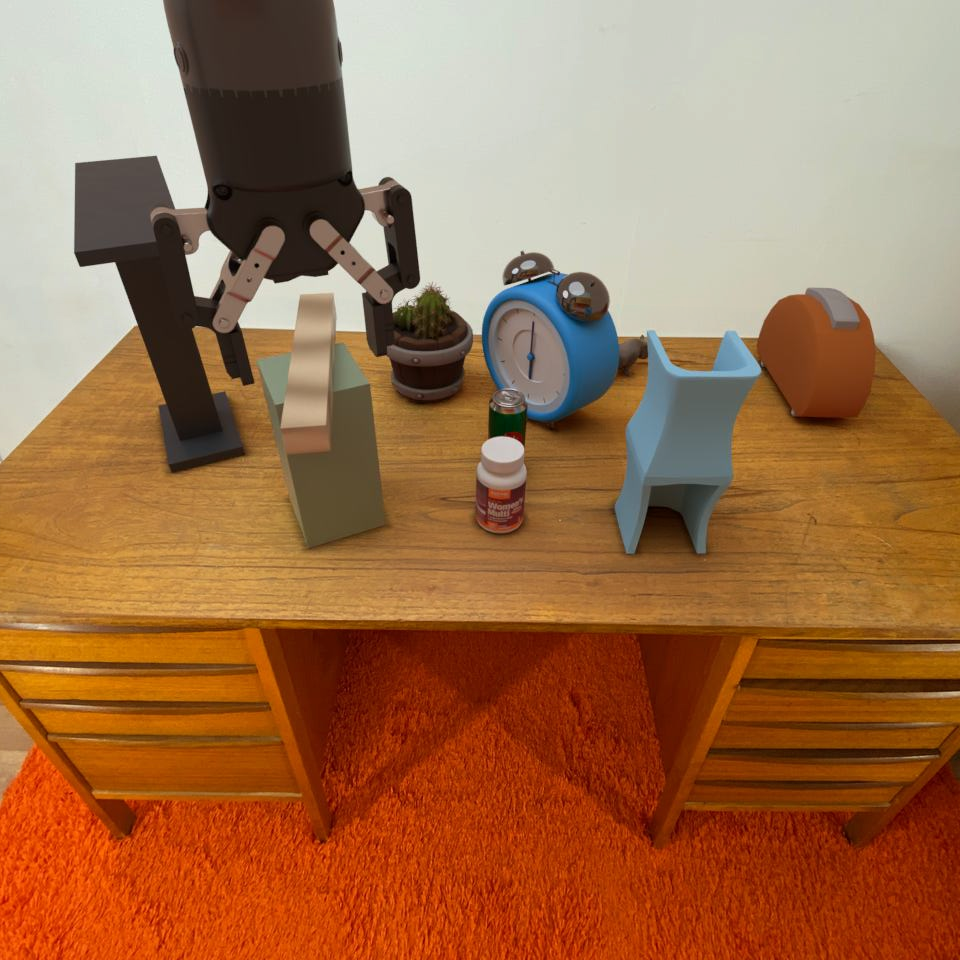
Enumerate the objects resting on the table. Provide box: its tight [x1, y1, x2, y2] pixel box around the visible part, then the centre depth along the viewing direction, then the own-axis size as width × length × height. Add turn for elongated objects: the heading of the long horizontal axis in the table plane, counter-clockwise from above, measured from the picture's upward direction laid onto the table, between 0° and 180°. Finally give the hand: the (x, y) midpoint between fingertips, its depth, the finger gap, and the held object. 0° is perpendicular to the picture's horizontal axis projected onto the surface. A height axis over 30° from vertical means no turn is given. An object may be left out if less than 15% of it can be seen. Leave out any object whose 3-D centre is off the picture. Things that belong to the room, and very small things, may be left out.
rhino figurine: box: [618, 334, 648, 377], centre depth 109 cm, size 4×14×6 cm, turn 123°
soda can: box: [487, 389, 528, 450], centre depth 86 cm, size 5×5×12 cm
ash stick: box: [280, 292, 338, 455], centre depth 68 cm, size 28×4×3 cm, turn 9°
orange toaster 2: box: [756, 287, 877, 419], centre depth 102 cm, size 23×9×17 cm, turn 179°
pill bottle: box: [475, 437, 528, 534], centre depth 79 cm, size 6×6×11 cm
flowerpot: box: [385, 281, 474, 404], centre depth 100 cm, size 14×15×20 cm
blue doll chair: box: [614, 329, 762, 555], centre depth 74 cm, size 10×10×25 cm
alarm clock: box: [481, 250, 620, 431], centre depth 95 cm, size 20×10×23 cm, turn 41°
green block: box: [256, 341, 387, 550], centre depth 76 cm, size 10×10×21 cm
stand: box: [73, 155, 246, 474], centre depth 85 cm, size 34×10×34 cm, turn 26°
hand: (313, 364), depth 41 cm, fingers open, 8 cm apart
